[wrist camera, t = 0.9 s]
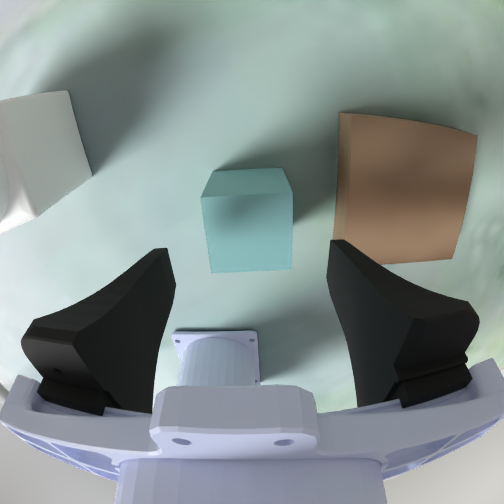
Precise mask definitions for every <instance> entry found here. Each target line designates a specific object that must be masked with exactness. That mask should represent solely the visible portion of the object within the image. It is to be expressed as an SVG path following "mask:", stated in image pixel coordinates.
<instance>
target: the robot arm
mask: <svg viewBox="0 0 504 504" xmlns="http://www.w3.org/2000/svg"><path fill="white" fill-rule="evenodd" d="M326 278H327V283H328V287H329V292H330V296H331V299H332V301H333V304H334V307H335V310H336V312H337V315H338V318H339V320H340V323H341V326H342V329H343V331H344V334H345V337H346V341H347V345H348V349H349V354H350V359H351V364H352V370H353V375H354V382H355V389H356V397H357V407H358V408H353V409H347V410H341V411H334V412H327V413H317V409H316V403H315V399H314V396H313V393H311V392H309V391H307V390H305V389H302V388H300V387H298V386H292V385H260V373H259V357H258V340H257V332H255V331H215V332H173V333H172V336H171V337H172V340H173V343H174V345H175V348H176V351H177V353H178V356H179V359H180V361H181V366H180V371H179V376H178V381H177V386H173V387H168V388H165V389H164V390H162V391H161V392H159V393H158V394H157V395H156V400H155V404H154V409H153V414H152V405H153V391H154V380H155V372H156V365H157V358H158V352H159V347H160V343H161V340H162V336H163V333H164V330H165V327H166V324H167V320H168V317H169V314H170V311H171V308H172V304H173V300H174V295H175V288H176V282H175V278H174V274H173V270H172V266H171V262H170V258H169V254H168V249H167V248H157V249H153V250H152V251H150V252H149V253H148V254H146V255H145V256H144V257H143V258H141V259H140V260H139V261H138V262H136V263H135V264H134V265H133V266H132V267H130V268H129V269H128V270H127V271H125V272H124V273H123V274H121V275H120V276H119V277H117V278H116V279H115V280H114V281H112V282H111V283H109V284H108V285H107V286H105V287H104V288H102V289H101V290H99V291H97V292H96V293H94V294H92V295H91V296H89V297H87V298H85V299H83V300H81V301H80V302H78V303H76V304H74V305H72V306H69V307H67V308H65V309H62V310H60V311H58V312H55V313H52V314H49V315H46V316H43V317H40V318H37V319H34V320H33V322H32V323H31V325H30V326H29V328H28V329H27V331H26V333H25V334H24V336H23V337H22V340H21V346H22V349H23V351H24V353H25V355H26V356H27V358H28V359H29V361H30V362H31V363H32V364H33V366H34V367H35V368H36V369H37V371H38V372H39V373H40V374H41V376H42V377H43V379H42V382H41V384H40V383H39V382H38V381H36V380H34V379H32V378H28V377H25V376H22V375H18V376H17V378H16V379H15V382H14V384H13V386H12V388H11V390H10V392H9V394H8V396H7V398H6V400H5V403H4V405H3V407H2V410H1V412H0V422H1V423H2V424H3V425H4V426H5V427H7V428H8V429H9V430H10V431H11V432H13V433H14V434H15V435H16V436H18V437H19V438H20V439H22V440H23V441H24V442H26V443H27V444H28V445H30V446H31V447H33V448H34V449H36V450H38V451H40V452H43V453H45V454H47V455H49V456H52V457H54V458H56V459H58V460H60V461H63V462H65V463H67V464H70V465H72V466H74V467H77V468H79V469H82V470H84V471H87V472H90V473H93V474H95V475H98V476H101V477H104V478H106V479H110V480H113V481H116V482H117V487H116V494H115V499H114V504H387V500H386V495H385V489H384V485H383V480H385V479H388V478H391V477H394V476H397V475H400V474H402V473H405V472H407V471H410V470H413V469H415V468H417V467H420V466H422V465H425V464H427V463H429V462H431V461H434V460H436V459H438V458H440V457H442V456H444V455H446V454H449V453H451V452H452V451H455V450H457V449H459V448H461V447H463V446H464V445H466V444H468V443H470V442H472V441H474V440H476V439H478V438H479V437H481V436H483V435H484V434H485V433H486V432H488V431H489V430H490V429H491V428H493V427H494V426H495V425H496V424H497V423H498V422H499V421H500V420H501V419H503V418H504V378H503V376H502V374H501V372H500V370H499V368H498V367H497V365H496V363H495V361H494V360H493V358H490V359H488V360H485V361H483V362H480V363H478V364H475V365H474V366H472V367H471V368H469V370H468V368H467V366H466V364H465V363H467V361H468V357H467V356H466V354H465V351H466V350H467V348H468V346H469V345H470V343H471V342H472V340H473V338H474V337H475V335H476V333H477V330H478V327H479V323H480V321H479V316H478V315H477V313H476V312H475V310H474V309H473V308H472V306H471V305H470V303H469V302H468V301H464V300H460V299H455V298H451V297H447V296H444V295H441V294H438V293H435V292H432V291H430V290H427V289H424V288H422V287H420V286H418V285H415V284H413V283H411V282H409V281H407V280H405V279H403V278H401V277H399V276H397V275H396V274H394V273H392V272H390V271H389V270H387V269H386V268H384V267H383V266H381V265H379V264H378V263H377V262H375V261H374V260H372V259H371V258H369V257H368V256H367V255H365V254H364V253H363V252H361V251H360V250H358V249H357V248H356V247H354V246H353V245H352V244H350V243H349V242H347V241H346V240H344V239H338V240H330V250H329V259H328V268H327V277H326Z"/></svg>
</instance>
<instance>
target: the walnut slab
mask: <svg viewBox="0 0 504 504" xmlns="http://www.w3.org/2000/svg"><path fill="white" fill-rule="evenodd" d="M476 145H477V135H474V134H471V133H468V132H465V131H462V130H459V129H455V128H451V127H446V126H442V125H437V124H431V123H426V122H420V121H414V120H408V119H401V118H394V117H386V116H378V115H368V114H357V113H343V112H339V144H338V173H337V191H336V207H335V220H334V232H333V240H338V239H344V240H346V241H347V242H349V243H350V244H352V245H353V246H354V247H356V248H357V249H358V250H360V251H361V252H363V253H364V254H365V255H367V256H368V257H369V258H371V259H372V260H374V261H375V262H377V263H378V264H379V265H383V264H396V263H409V262H422V261H434V260H445V259H452V257H453V254H454V251H455V247H456V244H457V241H458V237H459V234H460V230H461V226H462V222H463V218H464V214H465V210H466V205H467V201H468V196H469V191H470V186H471V180H472V174H473V168H474V161H475V153H476Z"/></svg>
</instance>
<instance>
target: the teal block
mask: <svg viewBox="0 0 504 504" xmlns="http://www.w3.org/2000/svg"><path fill="white" fill-rule="evenodd" d="M201 205H202V212H203V220H204V227H205V234H206V241H207V247H208V254H209V261H210V267H211V273H226V272H249V271H270V270H289V269H292V230H293V192H292V189H291V187H290V185H289V182H288V180H287V178H286V175H285V173H284V171H283V169H282V168H259V169H240V170H225V171H213V172H212V174H211V176H210V178H209V180H208V182H207V185H206V187H205V189H204V191H203V193H202V196H201Z"/></svg>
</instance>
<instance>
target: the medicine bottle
mask: <svg viewBox="0 0 504 504" xmlns="http://www.w3.org/2000/svg"><path fill="white" fill-rule="evenodd" d="M91 177H92V172H91V169H90V166H89V163H88V160H87V157H86V154H85V151H84V148H83V144H82V141H81V138H80V134H79V131H78V127H77V123H76V120H75V116H74V112H73V108H72V104H71V100H70V96H69V92H68V91H66V90H63V91H54V92H46V93H39V94H33V95H26V96H21V97H15V98H10V99H6V100H2V101H0V234H2V233H4V232H6V231H9V230H11V229H13V228H15V227H17V226H19V225H22V224H24V223H26V222H28V221H31V220H33V219H35V218H37V217H39V216H40V215H41V214H42V213H44V212H45V211H46V210H48V209H49V208H50V207H51V206H53V205H54V204H55V203H57V202H58V201H59V200H61V199H62V198H63V197H65V196H66V195H68V194H69V193H70V192H72V191H73V190H75V189H76V188H78V187H79V186H80V185H82V184H83V183H85V182H86V181H88V180H89V179H91Z"/></svg>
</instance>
